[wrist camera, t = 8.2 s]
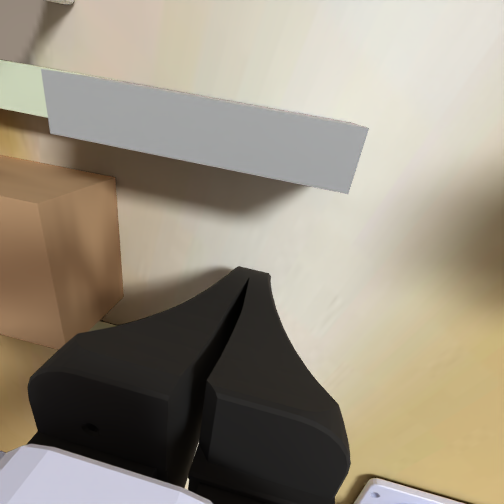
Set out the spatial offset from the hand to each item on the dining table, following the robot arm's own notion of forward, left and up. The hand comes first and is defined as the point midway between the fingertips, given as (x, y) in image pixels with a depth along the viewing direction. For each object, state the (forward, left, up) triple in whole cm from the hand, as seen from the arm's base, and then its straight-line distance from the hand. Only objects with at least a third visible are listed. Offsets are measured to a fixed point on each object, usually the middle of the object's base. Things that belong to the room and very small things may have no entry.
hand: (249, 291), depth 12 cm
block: (0, +9, -1) cm, 9 cm away
